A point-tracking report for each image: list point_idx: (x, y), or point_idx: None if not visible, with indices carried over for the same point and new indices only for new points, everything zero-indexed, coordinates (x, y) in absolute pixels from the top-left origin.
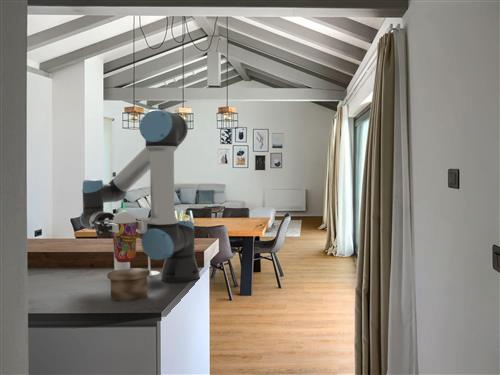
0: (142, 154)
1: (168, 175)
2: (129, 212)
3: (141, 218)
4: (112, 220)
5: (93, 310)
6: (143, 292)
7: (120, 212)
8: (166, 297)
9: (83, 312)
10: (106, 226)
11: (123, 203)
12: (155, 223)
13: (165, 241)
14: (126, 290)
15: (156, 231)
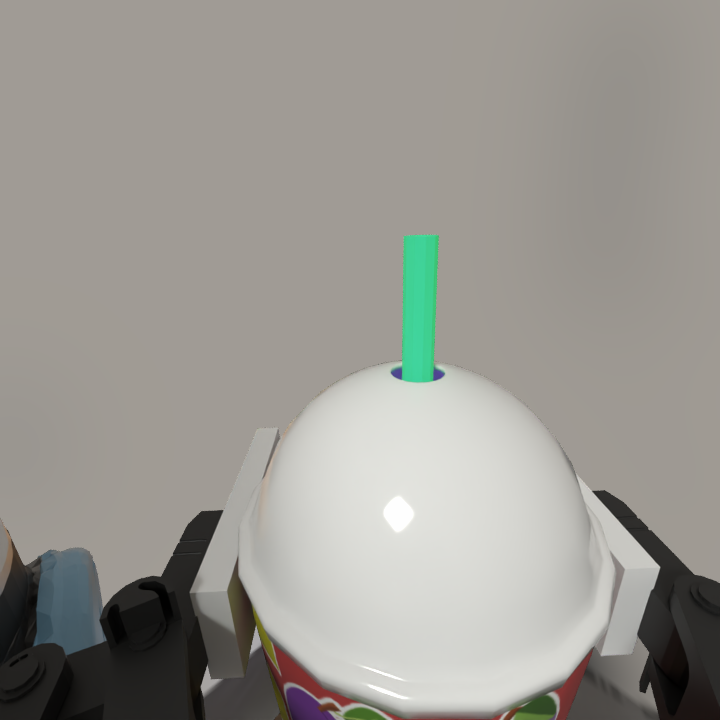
0: None
1: None
2: (357, 371)
3: None
4: (594, 538)
5: (598, 716)
6: None
7: (476, 373)
8: (258, 686)
9: (643, 716)
10: (657, 549)
11: (426, 249)
12: (2, 553)
13: (98, 584)
14: None
15: (92, 567)
